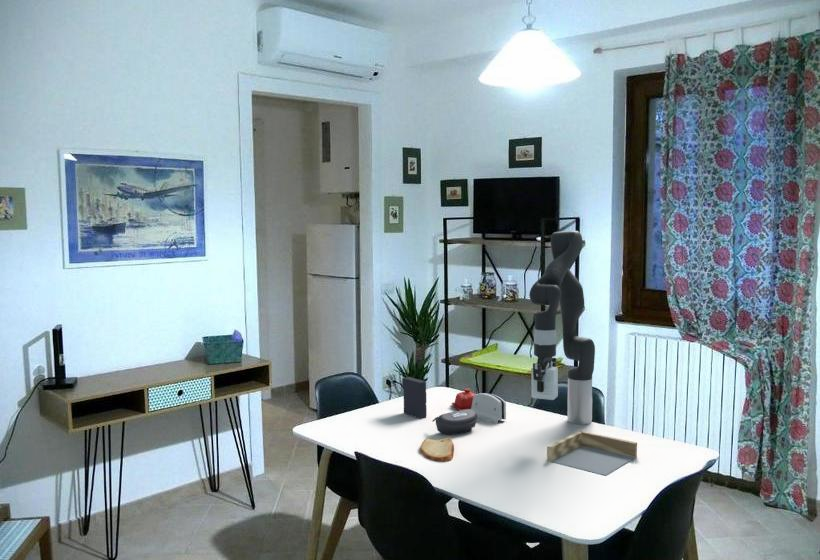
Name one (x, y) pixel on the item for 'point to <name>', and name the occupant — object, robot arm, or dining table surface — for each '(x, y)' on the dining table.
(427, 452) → the slice of bread
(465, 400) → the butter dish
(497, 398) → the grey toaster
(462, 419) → the glasses case
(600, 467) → the mat
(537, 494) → the dining table surface
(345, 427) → the dining table surface
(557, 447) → the corner walls
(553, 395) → the small box
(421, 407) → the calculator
